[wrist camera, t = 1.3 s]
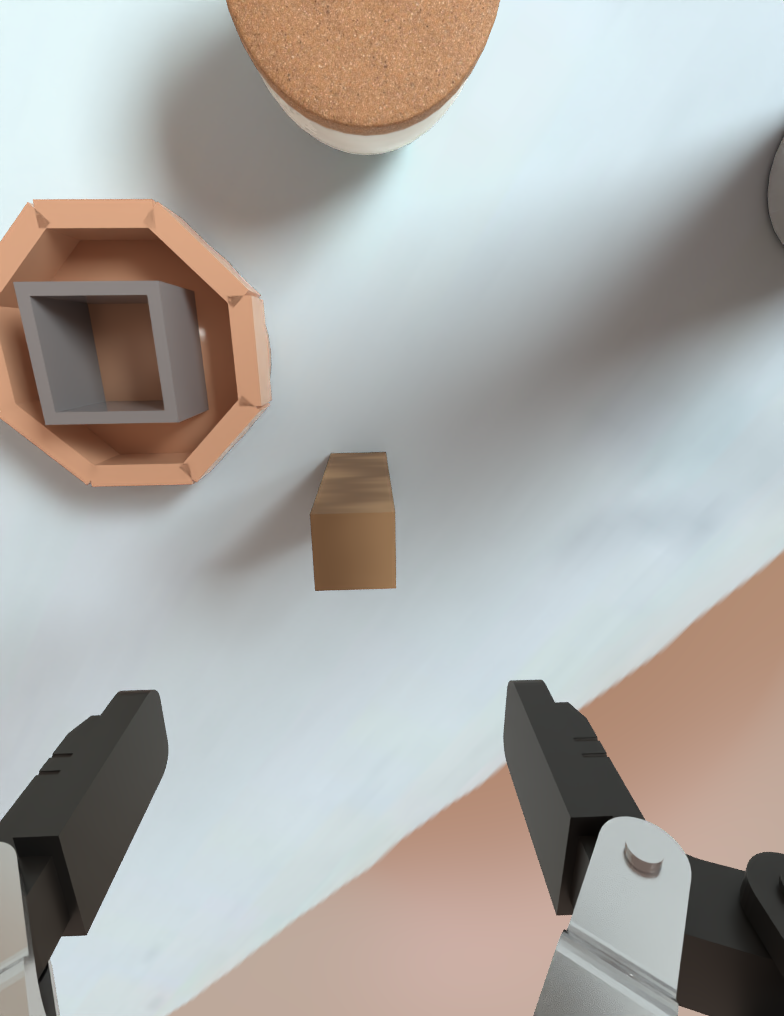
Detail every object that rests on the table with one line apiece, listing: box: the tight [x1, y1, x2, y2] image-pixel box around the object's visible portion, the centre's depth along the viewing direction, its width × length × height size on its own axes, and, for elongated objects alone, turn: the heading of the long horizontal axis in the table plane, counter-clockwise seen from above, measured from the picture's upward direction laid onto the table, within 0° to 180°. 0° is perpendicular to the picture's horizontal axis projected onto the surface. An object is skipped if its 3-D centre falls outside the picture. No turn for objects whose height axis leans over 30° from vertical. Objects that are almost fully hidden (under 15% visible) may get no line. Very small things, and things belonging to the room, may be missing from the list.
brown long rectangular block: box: [310, 452, 396, 591], centre depth 27 cm, size 4×4×12 cm
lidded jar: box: [226, 0, 500, 155], centre depth 21 cm, size 11×11×9 cm
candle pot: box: [0, 199, 272, 487], centre depth 27 cm, size 14×14×6 cm
